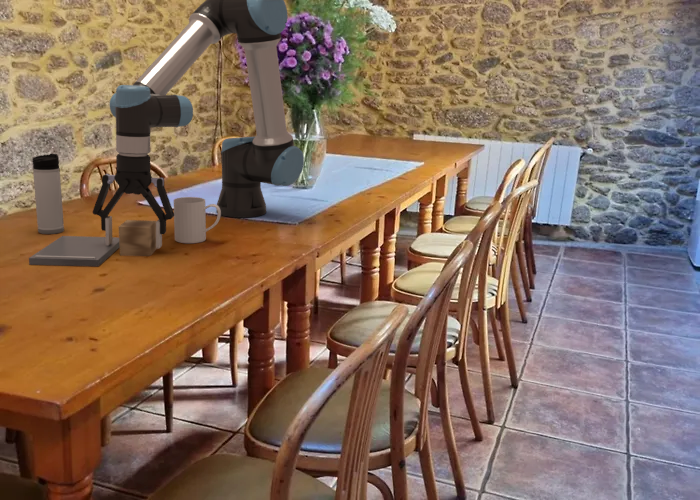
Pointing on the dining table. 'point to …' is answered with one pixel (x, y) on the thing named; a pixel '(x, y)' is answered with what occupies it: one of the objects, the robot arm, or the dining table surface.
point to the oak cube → (137, 238)
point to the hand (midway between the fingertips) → (134, 245)
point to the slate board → (75, 251)
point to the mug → (191, 219)
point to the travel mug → (48, 194)
